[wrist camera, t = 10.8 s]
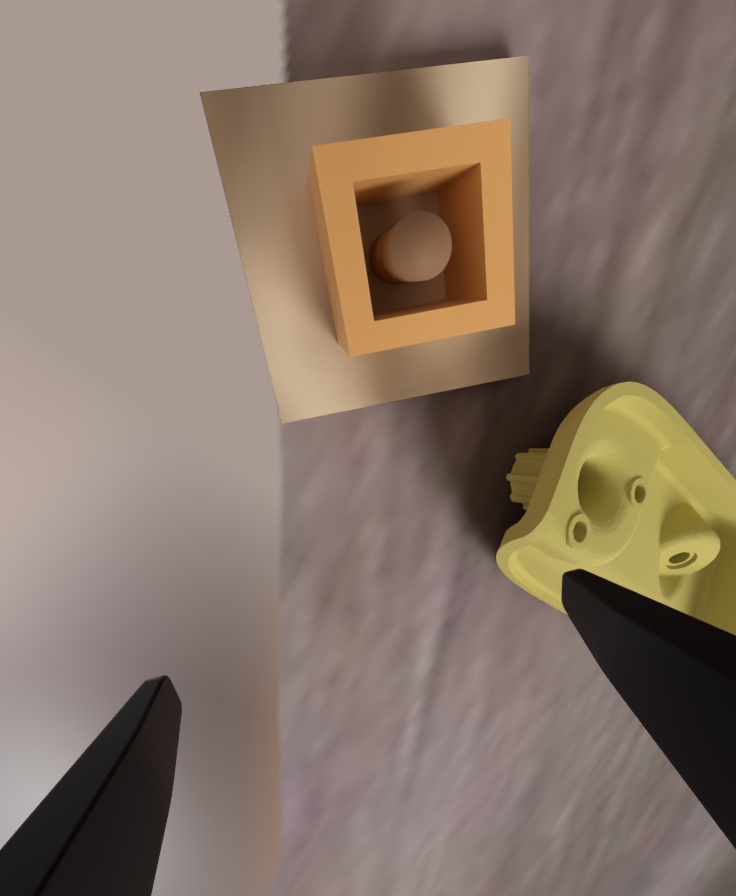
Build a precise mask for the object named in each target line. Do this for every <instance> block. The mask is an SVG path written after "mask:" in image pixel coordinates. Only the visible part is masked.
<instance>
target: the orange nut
mask: <svg viewBox="0 0 736 896" xmlns="http://www.w3.org/2000/svg"><path fill="white" fill-rule="evenodd" d="M308 187H309V193H310V198H311V203H312V208H313V214H314V219H315V224H316V229H317V235H318V240H319V245H320V251H321V256H322V261H323V266H324V272H325V277H326V282H327V287H328V293H329V298H330V303H331V308H332V314H333V319H334V324H335V330H336V335H337V340H338V344H339V345H340V347H341V348H342V349H343V350H344V351H345V352H346V353H347V354H348V355H349V356H350V357H353V356H358V355H363V354H368V353H373V352H378V351H384V350H389V349H394V348H399V347H404V346H409V345H414V344H419V343H424V342H429V341H434V340H439V339H444V338H449V337H454V336H460V335H465V334H470V333H475V332H480V331H485V330H490V329H495V328H500V327H505V326H510V325H515V291H514V250H513V208H512V167H511V126H510V118H505V119H498V120H491V121H484V122H477V123H470V124H463V125H456V126H449V127H442V128H435V129H428V130H421V131H414V132H407V133H400V134H393V135H386V136H379V137H372V138H365V139H358V140H351V141H344V142H337V143H330V144H323V145H316V146H312V151H311V159H310V167H309V176H308ZM435 193H437V195H438V207H439V217H440V218H441V219H442V220H443V221H444V222H445V224H446V225H447V227H448V229H449V232H450V235H451V240H452V250H451V255H450V258H449V261H448V263H447V265H446V266H445V268H444V277H445V289H446V299H444V300H439V301H433V302H428V303H423V304H417V305H412V306H407V307H401V308H396V309H391V310H385V311H380V312H375V313H373V311H372V304H371V298H370V291H369V285H368V278H367V272H366V265H365V259H364V252H363V245H362V239H361V232H360V226H359V219H358V213H357V206H360V205H366V204H373V203H379V202H385V201H391V200H398V199H404V198H410V197H416V196H423V195H429V194H435Z"/></svg>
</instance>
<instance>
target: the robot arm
mask: <svg viewBox="0 0 736 896" xmlns="http://www.w3.org/2000/svg"><path fill="white" fill-rule="evenodd" d="M561 600H562V604H563V607H564V609H565V611H566V613H567V614H568V616H569V618H570V619H571V621H572V622H573V624H574V626H575V627H576V629H577V631H578V632H579V634H580V636H581V637H582V639H583V640H584V642H585V644H586V645H587V647H588V649H589V650H590V652H591V653H592V655H593V657H594V658H595V660H596V662H597V663H598V665H599V666H600V668H601V669H602V671H603V672H604V674H605V675H606V677H607V678H608V679H609V681H610V682H611V683H612V685H613V686H614V687H615V689H616V690H617V691H618V693H619V694H620V695H621V697H622V698H623V699H624V701H625V702H626V703H627V705H628V706H629V707H630V709H631V710H632V711H633V713H634V714H635V715H636V717H637V718H638V719H639V721H640V722H641V723H642V725H643V726H644V727H645V729H646V730H647V731H648V733H649V734H650V735H651V737H652V738H653V740H654V741H655V742H656V744H657V745H658V746H659V748H660V749H661V750H662V752H663V753H664V754H665V756H666V757H667V758H668V760H669V761H670V762H671V764H672V765H673V766H674V768H675V769H676V770H677V772H678V773H679V774H680V776H681V777H682V778H683V780H684V781H685V782H686V784H687V785H688V786H689V788H690V789H691V790H692V792H693V793H694V794H695V796H696V797H697V798H698V800H699V801H700V802H701V804H702V805H703V806H704V808H705V809H706V810H707V812H708V813H709V814H710V816H711V817H712V818H713V820H714V821H715V822H716V824H717V825H718V826H719V828H720V829H721V830H722V832H723V833H724V834H725V836H726V837H727V838H728V840H729V841H730V842H731V844H732V845H733V846H734V848H735V849H736V635H734V634H732V633H729V632H727V631H725V630H722V629H720V628H718V627H716V626H713V625H711V624H709V623H706V622H704V621H702V620H699V619H697V618H695V617H692V616H690V615H688V614H685V613H683V612H681V611H679V610H676V609H674V608H672V607H669V606H667V605H665V604H662V603H660V602H658V601H655V600H653V599H651V598H649V597H646V596H644V595H642V594H639V593H637V592H635V591H632V590H630V589H628V588H625V587H623V586H621V585H619V584H616V583H614V582H612V581H609V580H607V579H605V578H602V577H600V576H598V575H595V574H593V573H591V572H588V571H586V570H584V569H575V570H571V571H567V572H565V573H564V574H563V575H562V594H561ZM181 715H182V706H181V701H180V698H179V696H178V694H177V692H176V690H175V688H174V686H173V684H172V682H171V680H170V678H169V677H168V676H166V675H163V676H159V677H155V678H151V679H148V680H146V681H145V682H144V683H143V684H142V685H141V686H140V687H139V688H138V689H137V691H136V692H135V693H134V694H133V696H131V698H130V699H129V700H128V701H127V702H126V703H125V705H124V706H123V707H122V708H121V709H120V711H119V712H118V713H117V714H116V715H115V717H113V719H112V720H111V721H110V722H109V723H108V724H107V726H106V727H105V728H104V729H103V730H102V732H101V733H100V734H99V735H98V736H97V738H96V739H95V740H94V741H93V742H92V743H91V744H90V746H89V747H88V748H87V749H86V750H85V751H84V753H83V754H82V755H81V756H80V757H79V759H78V760H77V761H76V762H75V763H74V764H73V766H72V767H71V768H70V769H69V770H68V771H67V772H66V774H65V775H64V776H63V777H62V778H61V779H60V781H59V782H58V783H57V784H56V785H55V786H54V788H53V789H52V790H51V791H50V792H49V793H48V795H47V796H46V797H45V798H44V799H43V800H42V802H41V803H40V804H39V805H38V806H37V808H36V809H35V810H34V811H33V812H32V813H31V815H30V816H29V817H28V818H27V819H26V820H25V821H24V823H23V824H22V825H21V826H20V827H19V828H18V830H17V831H16V832H15V833H14V834H13V836H12V837H11V838H10V839H9V840H8V841H7V843H6V844H5V845H4V846H3V847H2V848H1V850H0V896H151V893H152V889H153V884H154V879H155V874H156V870H157V865H158V860H159V856H160V851H161V845H162V841H163V836H164V832H165V827H166V822H167V818H168V813H169V808H170V803H171V797H172V790H173V783H174V775H175V766H176V757H177V748H178V740H179V732H180V723H181Z"/></svg>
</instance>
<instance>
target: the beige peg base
mask: <svg viewBox="0 0 736 896" xmlns="http://www.w3.org/2000/svg"><path fill="white" fill-rule="evenodd" d="M200 96H201V100H202V104H203V108H204V111H205V116H206V120H207V124H208V128H209V132H210V136H211V140H212V144H213V148H214V152H215V156H216V160H217V164H218V168H219V172H220V176H221V180H222V183H223V188H224V192H225V196H226V200H227V204H228V208H229V212H230V216H231V220H232V224H233V228H234V232H235V236H236V240H237V244H238V248H239V252H240V256H241V260H242V264H243V268H244V272H245V276H246V280H247V284H248V288H249V293H250V296H251V301H252V304H253V309H254V312H255V317H256V321H257V324H258V329H259V333H260V336H261V341H262V345H263V349H264V353H265V357H266V361H267V365H268V369H269V373H270V377H271V381H272V385H273V389H274V393H275V397H276V401H277V405H278V409H279V413H280V417H281V421H282V423H287V422H292V421H297V420H302V419H307V418H312V417H317V416H322V415H327V414H332V413H337V412H342V411H347V410H353V409H358V408H363V407H368V406H373V405H378V404H383V403H388V402H393V401H398V400H403V399H408V398H413V397H418V396H423V395H428V394H433V393H438V392H443V391H448V390H453V389H458V388H463V387H468V386H473V385H478V384H483V383H488V382H493V381H498V380H503V379H508V378H513V377H518V376H523V375H528V374H529V56H521V57H512V58H503V59H494V60H485V61H476V62H467V63H458V64H449V65H441V66H432V67H423V68H414V69H405V70H396V71H387V72H378V73H369V74H360V75H351V76H342V77H333V78H324V79H315V80H306V81H297V82H288V83H280V84H270V85H261V86H253V87H244V88H235V89H226V90H217V91H208V92H200ZM505 118H510V126H511V167H512V208H513V250H514V291H515V325H510V326H505V327H500V328H495V329H490V330H485V331H480V332H475V333H470V334H465V335H460V336H454V337H449V338H444V339H439V340H434V341H429V342H424V343H419V344H414V345H409V346H404V347H399V348H394V349H389V350H384V351H378V352H373V353H368V354H363V355H358V356H353V357H350V356H349V355H348V354H347V353H346V352H345V351H344V350H343V349H342V348H341V347H340V345H339V344H338V340H337V335H336V330H335V324H334V319H333V314H332V308H331V303H330V298H329V293H328V287H327V282H326V277H325V272H324V266H323V261H322V256H321V251H320V245H319V240H318V235H317V229H316V224H315V219H314V214H313V208H312V203H311V198H310V193H309V187H308V176H309V167H310V159H311V151H312V146H316V145H323V144H330V143H337V142H344V141H351V140H358V139H365V138H372V137H379V136H386V135H393V134H400V133H407V132H414V131H421V130H428V129H435V128H442V127H449V126H456V125H463V124H470V123H477V122H484V121H491V120H498V119H505ZM357 213H358V219H359V226H360V232H361V239H362V245H363V252H364V259H365V265H366V272H367V278H368V285H369V291H370V298H371V304H372V311H373V313H375V312H380V311H385V310H391V309H396V308H401V307H407V306H412V305H417V304H423V303H428V302H433V301H439V300H444V299H446V289H445V277H444V268H445V266H446V265H447V263H448V261H449V258H450V255H451V250H452V240H451V235H450V232H449V229H448V227H447V225H446V224H445V222H444V221H443V220H442V219H441V218H440V217H439V207H438V195H437V193H435V194H429V195H423V196H416V197H410V198H404V199H398V200H391V201H385V202H379V203H373V204H366V205H360V206H357Z"/></svg>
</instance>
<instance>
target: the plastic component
mask: <svg viewBox="0 0 736 896" xmlns="http://www.w3.org/2000/svg"><path fill="white" fill-rule="evenodd" d="M515 458H516V462H515V464H514V465H513V468H512V471H511V473H508V474H507V476H506V479H507V481H510V485H511V490H512V493H511V495H510V499H511V500H512V501H513V502H518V503H522V504H523V509H524V510H527V511H526V513H525V515H524V516H523V517H522V519H521V520H520V521H519V522H518V523H517V524H515V525H513V526H511V527H510V528H509V529H508V530H507V531H506V532H505V534H504V537H503V539H502V542H501V544H500V547H499V549H498V552H497V554H496V561H497V564H498V566H499V568H500V569H501V570H502V572H503V573H504V574H505V575H506V576H507V577H508V578H509V579H510V580H512V581H513V582H514V583H515V584H517V585H518V586H519V587H521V588H522V589H524V590H525V591H527V592H528V593H530V594H532V595H533V596H535V597H537V598H539V599H540V600H542V601H544V602H546V603H547V604H549V605H551V606H553V607H554V608H556V609H558V610H560V611H561V612H563V613H565V614H567V613H566V611H565V609H564V607H563V604H562V600H561V594H562V575H563V574H564V573H565V572H567V571H571V570H575V569H584V570H586V571H588V572H591V573H593V574H595V575H598V576H600V577H602V578H605V579H607V580H609V581H612V582H614V583H616V584H619V585H621V586H623V587H625V588H628V589H630V590H632V591H635V592H637V593H639V594H642V595H644V596H646V597H649V598H651V599H653V600H655V601H658V602H660V603H662V604H665V605H667V606H669V607H672V608H674V609H676V610H679V611H681V612H683V613H685V614H688V615H690V616H692V617H695V618H697V619H699V620H702V621H704V622H706V623H709V624H711V625H713V626H716V627H718V628H720V629H722V630H725V631H727V632H729V633H732V634H734V635H736V480H735V479H734V478H733V476H732V475H731V474H730V473H729V472H728V470H727V469H726V468H725V467H724V466H723V465H722V463H721V462H720V461H719V460H718V459H717V457H716V456H715V455H714V454H713V453H712V452H711V450H710V449H709V448H708V447H707V446H706V444H705V443H704V442H703V441H702V440H701V438H700V437H699V436H698V435H697V434H696V433H695V431H694V430H693V429H692V428H691V427H690V425H689V424H688V423H687V422H686V421H685V420H684V419H683V418H682V417H681V415H680V414H679V413H678V412H677V411H676V410H675V409H674V408H673V407H672V406H671V405H670V404H669V403H668V402H667V401H666V400H665V399H664V398H663V397H662V396H660V395H659V394H658V393H657V392H656V391H654V390H653V389H651V388H649V387H647V386H646V385H643V384H640V383H637V382H623V383H617V384H613V385H609V386H607V387H604V388H601V389H600V390H598V391H596V392H594V393H593V394H591V395H590V396H588V397H587V398H585V399H584V400H583V401H581V402H580V403H579V404H578V405H576V406H575V407H574V408H573V409H572V410H571V411H570V412H569V414H568V415H567V416H566V417H565V418H564V420H563V421H562V423H561V424H560V426H559V428H558V430H557V431H556V433H555V435H554V438H553V440H552V443H551V445H550V447H549V448H530V449H529V450H528V453H517V454H516V455H515ZM567 615H568V614H567Z"/></svg>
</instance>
